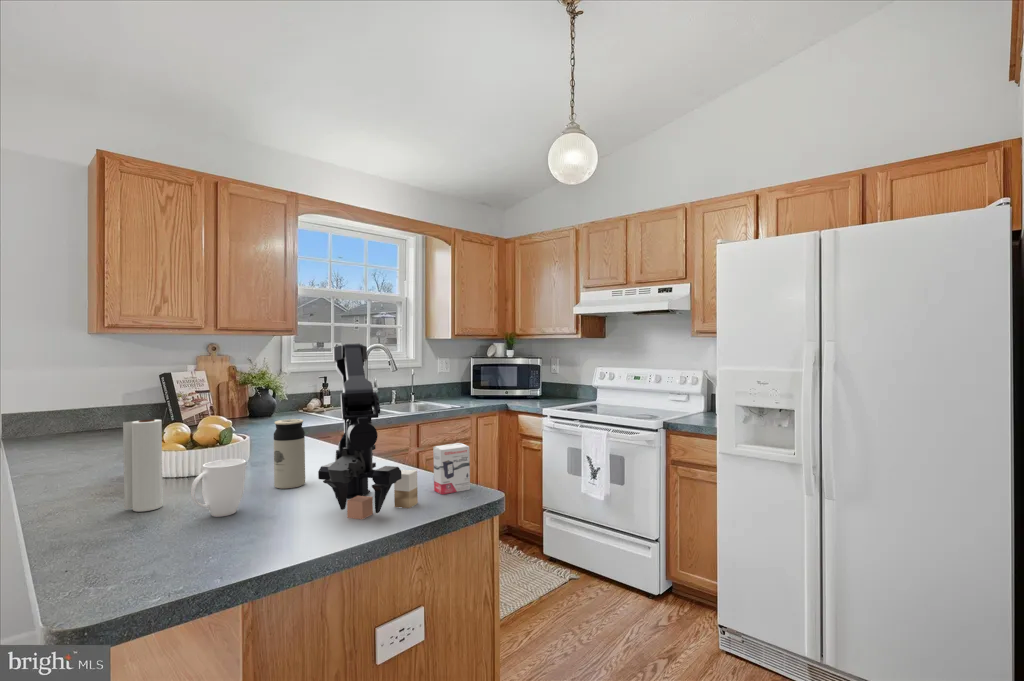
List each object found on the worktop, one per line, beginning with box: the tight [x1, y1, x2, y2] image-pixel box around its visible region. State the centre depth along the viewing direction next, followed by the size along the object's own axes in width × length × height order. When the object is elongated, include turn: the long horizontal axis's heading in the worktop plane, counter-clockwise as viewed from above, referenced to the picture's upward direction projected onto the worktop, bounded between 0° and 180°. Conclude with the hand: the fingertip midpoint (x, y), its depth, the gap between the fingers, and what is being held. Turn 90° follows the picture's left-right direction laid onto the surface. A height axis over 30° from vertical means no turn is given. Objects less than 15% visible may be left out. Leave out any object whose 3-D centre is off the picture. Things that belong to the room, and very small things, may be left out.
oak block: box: [393, 487, 419, 509], centre depth 129 cm, size 4×4×4 cm
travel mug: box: [273, 418, 306, 490], centre depth 149 cm, size 8×8×18 cm
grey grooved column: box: [122, 418, 164, 513], centre depth 130 cm, size 7×6×21 cm
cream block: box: [393, 469, 418, 491], centre depth 129 cm, size 4×4×4 cm
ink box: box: [432, 442, 471, 496], centre depth 141 cm, size 8×5×12 cm, turn 123°
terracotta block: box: [346, 495, 374, 520], centre depth 121 cm, size 4×4×4 cm
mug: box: [190, 458, 247, 518], centre depth 123 cm, size 12×9×12 cm
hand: (360, 511), depth 121 cm, fingers open, 9 cm apart
